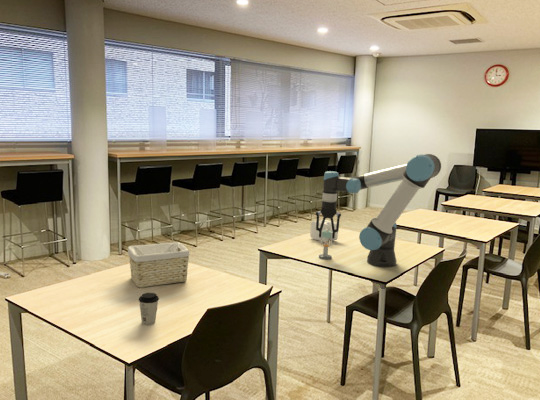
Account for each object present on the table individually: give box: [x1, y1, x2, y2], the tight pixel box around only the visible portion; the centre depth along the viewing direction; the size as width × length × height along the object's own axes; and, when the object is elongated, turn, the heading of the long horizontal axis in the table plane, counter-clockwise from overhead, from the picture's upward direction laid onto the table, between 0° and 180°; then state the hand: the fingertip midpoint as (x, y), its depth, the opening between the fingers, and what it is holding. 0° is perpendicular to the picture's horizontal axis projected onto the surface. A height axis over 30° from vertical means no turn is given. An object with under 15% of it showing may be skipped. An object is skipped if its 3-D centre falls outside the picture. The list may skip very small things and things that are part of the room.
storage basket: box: [127, 241, 190, 288], centre depth 211 cm, size 24×16×15 cm
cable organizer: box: [309, 218, 339, 244], centre depth 296 cm, size 15×11×12 cm
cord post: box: [318, 229, 332, 261], centre depth 258 cm, size 7×7×16 cm
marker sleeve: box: [323, 230, 331, 238], centre depth 257 cm, size 4×4×3 cm
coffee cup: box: [138, 292, 160, 326], centre depth 169 cm, size 7×7×10 cm
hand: (326, 243), depth 258 cm, fingers closed on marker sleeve, 4 cm apart
